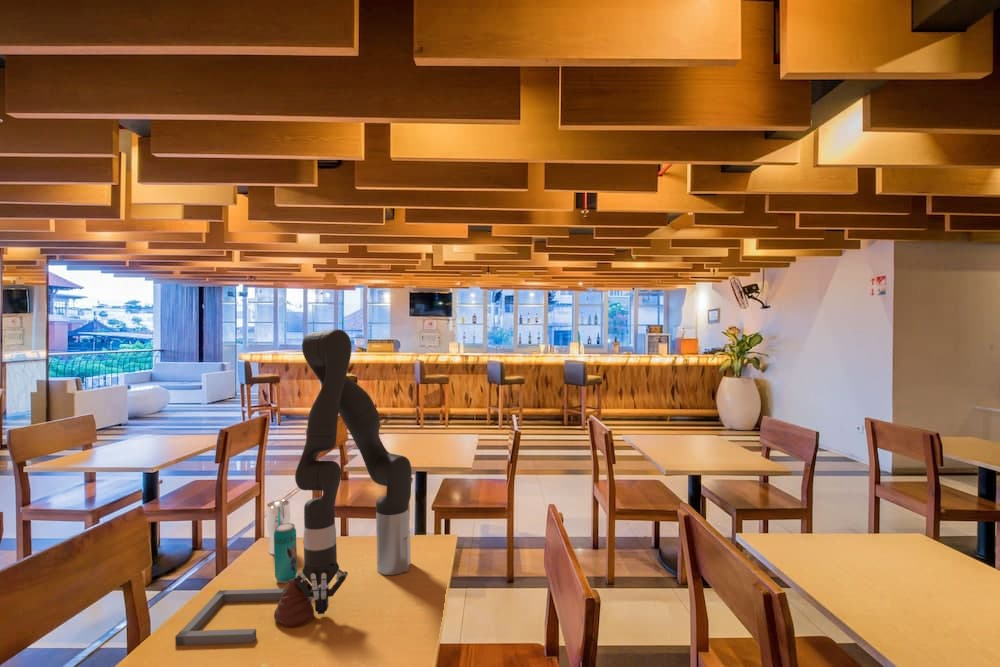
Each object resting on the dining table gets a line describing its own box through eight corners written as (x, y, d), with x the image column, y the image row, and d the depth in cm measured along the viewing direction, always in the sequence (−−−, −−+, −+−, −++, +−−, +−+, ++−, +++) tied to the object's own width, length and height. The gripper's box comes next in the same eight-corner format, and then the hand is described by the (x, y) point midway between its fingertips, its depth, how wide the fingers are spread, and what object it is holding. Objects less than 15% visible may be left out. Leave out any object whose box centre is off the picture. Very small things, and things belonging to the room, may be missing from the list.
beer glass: (296, 548, 169) (295, 501, 168) (278, 557, 162) (277, 508, 162) (280, 544, 172) (278, 498, 171) (262, 553, 165) (261, 505, 165)
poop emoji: (266, 620, 128) (265, 582, 128) (296, 604, 136) (295, 568, 135) (293, 633, 123) (292, 593, 123) (322, 615, 130) (321, 577, 130)
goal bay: (285, 596, 140) (285, 588, 139) (252, 642, 120) (252, 634, 120) (219, 598, 139) (219, 590, 139) (175, 645, 119) (175, 636, 119)
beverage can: (289, 585, 145) (288, 531, 145) (270, 583, 146) (269, 529, 146) (301, 575, 151) (300, 523, 150) (283, 573, 152) (281, 521, 151)
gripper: (351, 535, 133) (352, 603, 134) (297, 536, 133) (299, 605, 133) (344, 548, 126) (345, 619, 126) (287, 550, 125) (289, 622, 126)
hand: (321, 612), depth 130 cm, fingers closed
